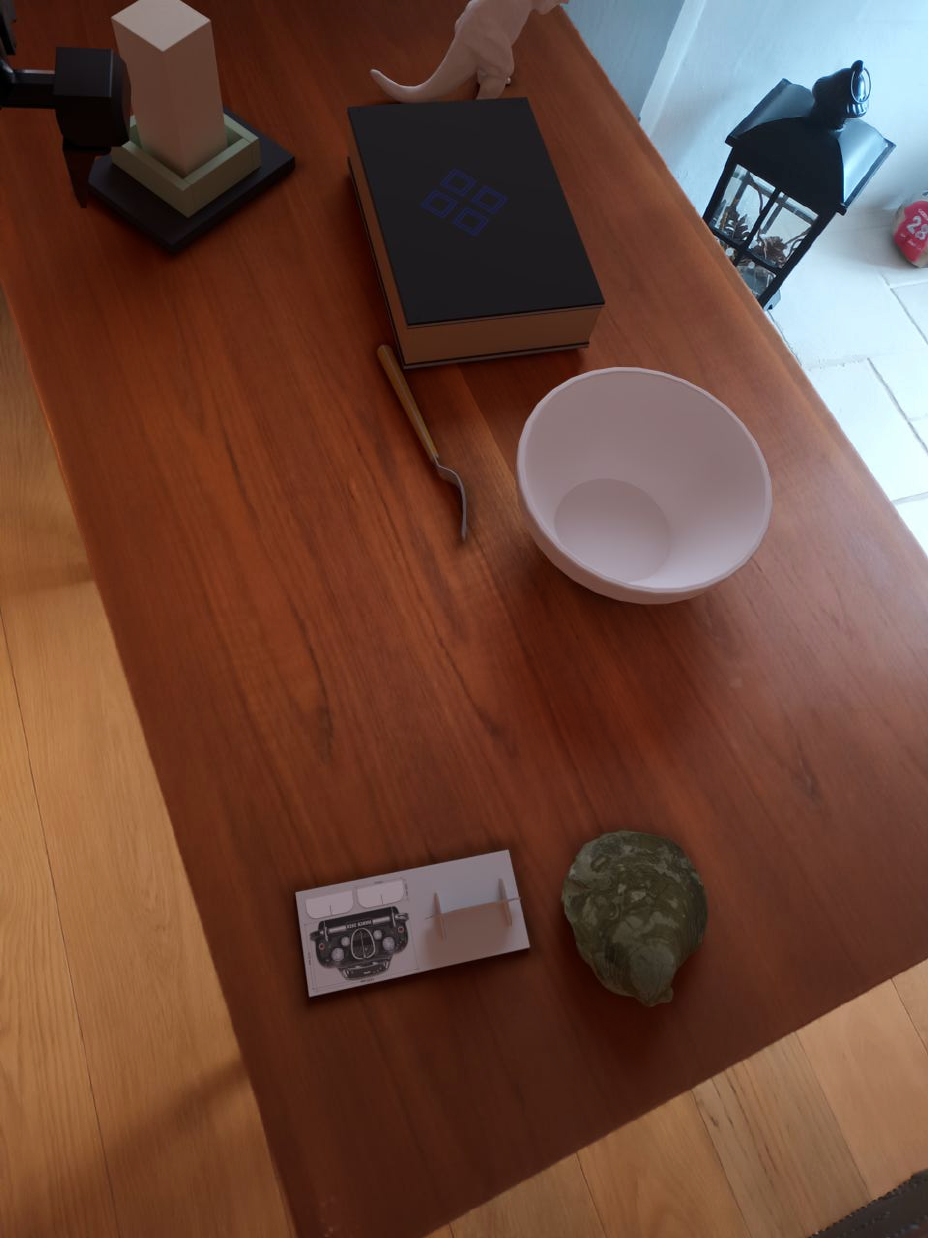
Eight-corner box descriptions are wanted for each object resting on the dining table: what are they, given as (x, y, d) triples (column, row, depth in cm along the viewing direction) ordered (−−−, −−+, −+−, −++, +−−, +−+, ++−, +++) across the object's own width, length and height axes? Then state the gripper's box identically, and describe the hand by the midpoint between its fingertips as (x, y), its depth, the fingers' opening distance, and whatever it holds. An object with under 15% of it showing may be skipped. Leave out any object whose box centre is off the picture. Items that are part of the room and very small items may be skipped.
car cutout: (507, 850, 62) (519, 841, 58) (528, 947, 60) (542, 945, 56) (295, 892, 59) (292, 886, 55) (309, 997, 57) (306, 998, 53)
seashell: (685, 814, 63) (736, 909, 54) (692, 894, 66) (741, 997, 56) (546, 840, 63) (573, 940, 53) (559, 919, 66) (586, 1027, 56)
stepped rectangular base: (174, 255, 78) (165, 217, 74) (78, 183, 80) (65, 143, 76) (295, 166, 84) (293, 127, 80) (204, 101, 86) (198, 60, 82)
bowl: (552, 674, 67) (583, 629, 59) (460, 467, 74) (476, 398, 65) (762, 601, 72) (820, 550, 64) (660, 413, 79) (700, 342, 70)
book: (514, 156, 89) (527, 95, 83) (586, 353, 80) (606, 301, 74) (346, 168, 85) (347, 105, 79) (402, 375, 76) (408, 323, 70)
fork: (368, 343, 75) (461, 533, 69) (388, 335, 76) (482, 523, 69) (374, 360, 78) (464, 545, 71) (393, 352, 78) (484, 536, 71)
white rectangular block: (190, 195, 80) (162, 51, 67) (145, 165, 80) (110, 16, 68) (230, 165, 82) (210, 19, 69) (187, 135, 82) (159, -14, 70)
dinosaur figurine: (539, 57, 95) (572, -96, 81) (569, 119, 92) (608, -30, 78) (361, 73, 90) (365, -87, 77) (386, 139, 87) (395, -16, 74)
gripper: (102, -109, 52) (154, 125, 66) (-245, -134, 49) (-113, 117, 63) (95, 16, 48) (152, 237, 62) (-284, -3, 45) (-133, 233, 59)
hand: (16, 202), depth 62 cm, fingers open, 9 cm apart
